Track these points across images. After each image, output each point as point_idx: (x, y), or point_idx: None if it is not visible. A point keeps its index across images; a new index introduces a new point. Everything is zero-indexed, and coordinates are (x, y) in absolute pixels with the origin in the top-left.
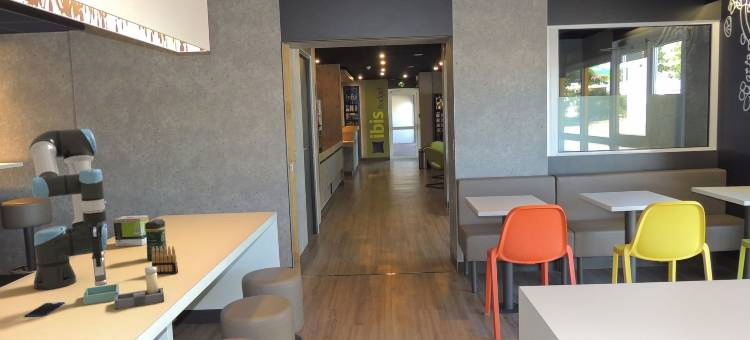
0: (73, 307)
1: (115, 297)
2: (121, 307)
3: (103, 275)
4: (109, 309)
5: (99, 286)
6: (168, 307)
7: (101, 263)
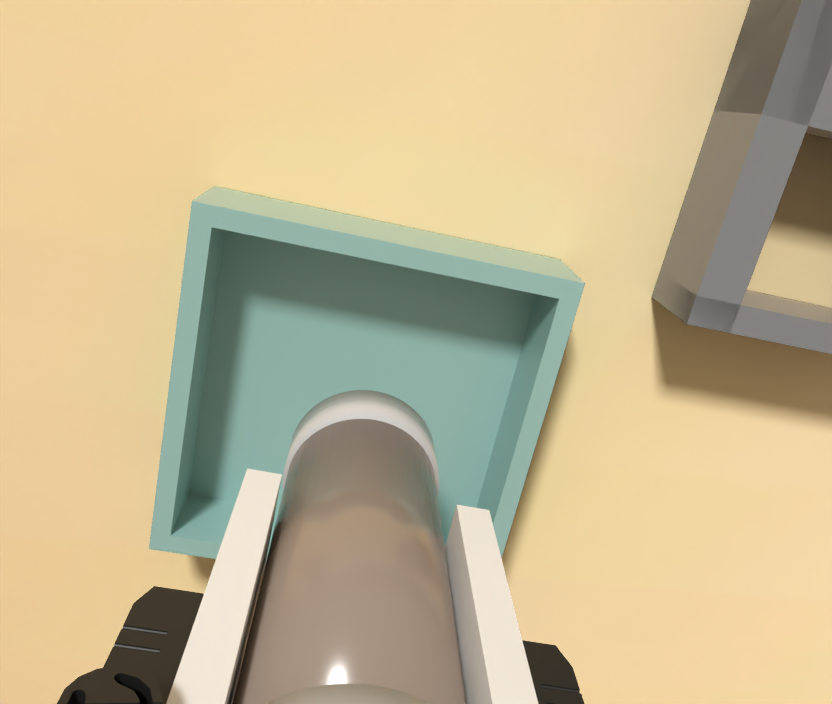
0: None
1: (800, 342)
2: None
3: (432, 494)
4: (811, 384)
5: (171, 420)
6: None
7: (520, 662)
